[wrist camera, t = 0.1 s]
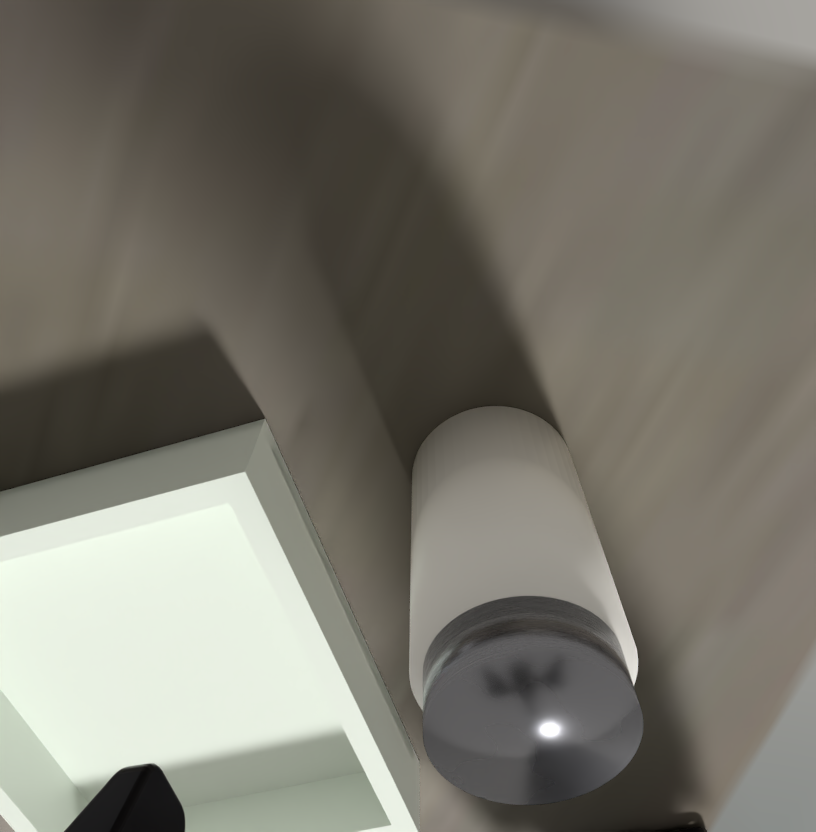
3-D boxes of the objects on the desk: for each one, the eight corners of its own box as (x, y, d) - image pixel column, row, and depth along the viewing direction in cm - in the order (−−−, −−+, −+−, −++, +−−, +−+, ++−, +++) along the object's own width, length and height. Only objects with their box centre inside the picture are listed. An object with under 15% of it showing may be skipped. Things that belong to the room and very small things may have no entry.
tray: (419, 762, 30) (419, 834, 27) (101, 824, 32) (72, 897, 29) (265, 418, 23) (245, 471, 20) (-131, 527, 25) (-196, 588, 22)
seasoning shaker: (586, 520, 25) (675, 790, 16) (437, 556, 25) (447, 831, 17) (553, 386, 22) (636, 616, 14) (391, 430, 23) (375, 673, 15)
